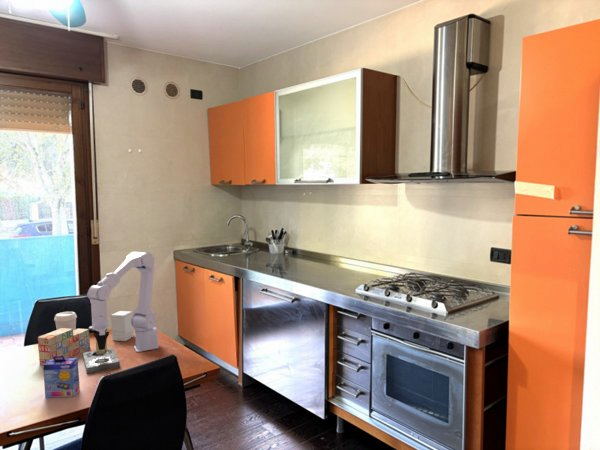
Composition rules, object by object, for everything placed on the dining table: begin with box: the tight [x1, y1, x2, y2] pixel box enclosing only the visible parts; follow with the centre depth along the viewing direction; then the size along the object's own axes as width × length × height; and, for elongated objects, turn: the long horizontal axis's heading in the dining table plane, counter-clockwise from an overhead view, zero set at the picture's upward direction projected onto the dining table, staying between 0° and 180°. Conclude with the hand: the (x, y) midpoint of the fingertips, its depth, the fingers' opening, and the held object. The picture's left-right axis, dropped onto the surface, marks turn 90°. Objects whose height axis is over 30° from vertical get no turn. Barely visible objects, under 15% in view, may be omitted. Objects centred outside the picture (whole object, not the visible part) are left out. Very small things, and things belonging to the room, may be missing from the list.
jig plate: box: [82, 347, 121, 375], centre depth 183 cm, size 12×19×2 cm, turn 30°
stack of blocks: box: [37, 328, 91, 367], centre depth 191 cm, size 21×6×12 cm, turn 163°
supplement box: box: [110, 310, 135, 342], centre depth 213 cm, size 7×7×13 cm
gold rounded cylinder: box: [95, 339, 108, 354], centre depth 179 cm, size 4×4×7 cm
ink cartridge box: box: [42, 356, 81, 399], centre depth 155 cm, size 10×6×14 cm, turn 95°
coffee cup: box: [53, 311, 78, 330], centre depth 205 cm, size 10×10×15 cm
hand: (101, 347), depth 179 cm, fingers closed on gold rounded cylinder, 4 cm apart
